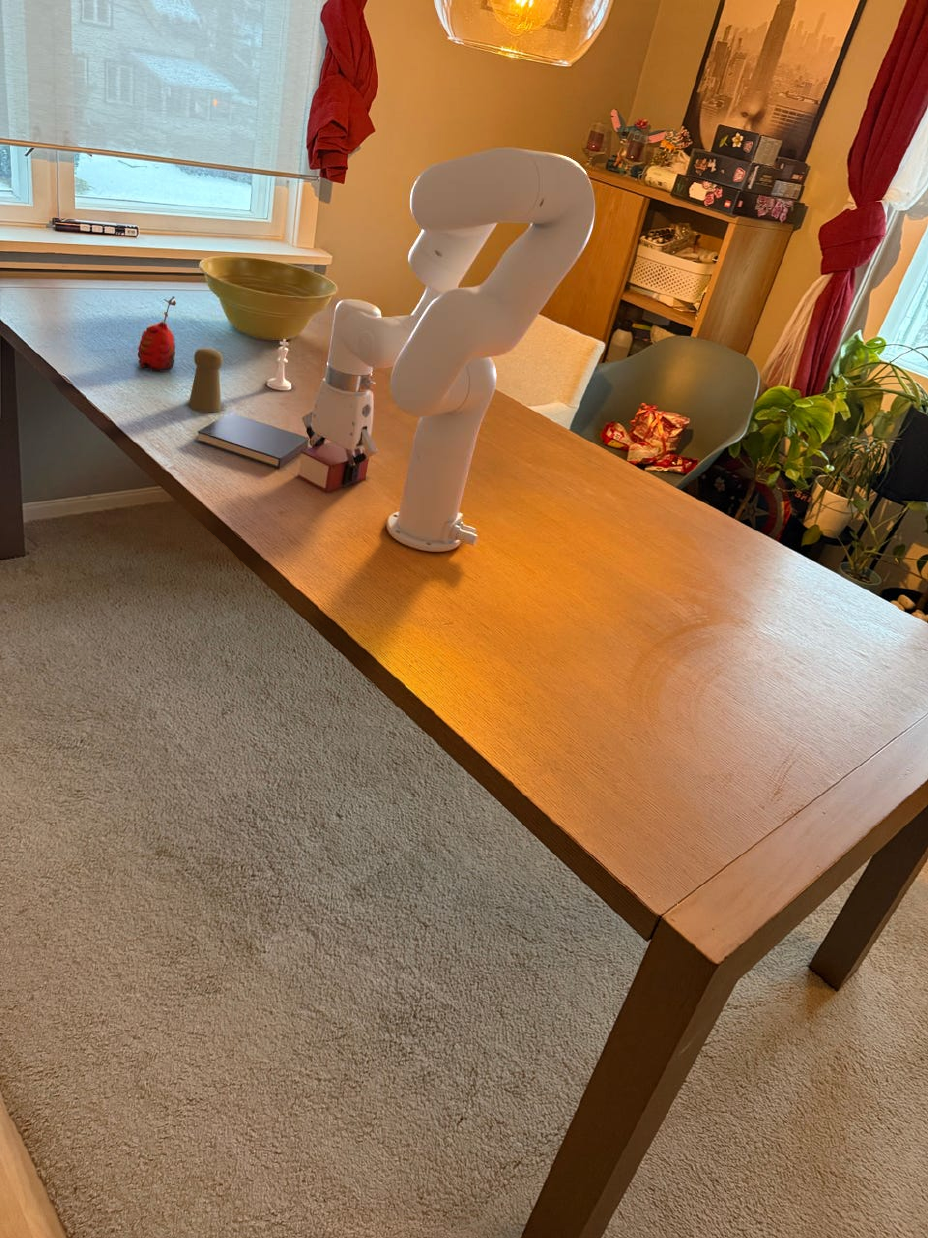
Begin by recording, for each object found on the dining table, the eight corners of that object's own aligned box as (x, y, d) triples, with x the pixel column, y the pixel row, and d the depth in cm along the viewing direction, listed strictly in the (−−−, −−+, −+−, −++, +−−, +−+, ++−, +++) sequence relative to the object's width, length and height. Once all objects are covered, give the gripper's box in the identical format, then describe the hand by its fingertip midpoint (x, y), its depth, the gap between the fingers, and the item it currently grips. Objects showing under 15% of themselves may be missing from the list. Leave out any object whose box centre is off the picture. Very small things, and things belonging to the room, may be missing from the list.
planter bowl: (170, 308, 220) (173, 251, 213) (284, 308, 241) (290, 256, 234) (239, 357, 202) (245, 296, 195) (356, 353, 223) (365, 297, 216)
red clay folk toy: (147, 357, 190) (149, 284, 182) (180, 366, 190) (184, 293, 182) (132, 368, 183) (134, 292, 175) (166, 376, 183) (170, 301, 176)
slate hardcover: (307, 447, 170) (309, 437, 169) (279, 468, 160) (280, 458, 158) (229, 422, 172) (230, 412, 170) (196, 441, 161) (197, 431, 160)
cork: (213, 414, 173) (217, 358, 167) (183, 406, 173) (186, 349, 167) (226, 405, 178) (231, 350, 172) (197, 397, 178) (201, 341, 172)
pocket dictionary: (365, 478, 164) (370, 453, 161) (327, 492, 156) (331, 465, 153) (336, 463, 167) (340, 438, 164) (297, 476, 159) (301, 450, 156)
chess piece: (293, 391, 192) (299, 344, 187) (269, 389, 190) (275, 342, 185) (288, 382, 196) (293, 336, 191) (265, 380, 194) (270, 334, 189)
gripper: (402, 393, 151) (383, 489, 161) (323, 357, 158) (310, 451, 167) (374, 400, 146) (356, 500, 155) (293, 362, 152) (281, 460, 161)
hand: (332, 474), depth 161 cm, fingers closed on pocket dictionary, 6 cm apart
